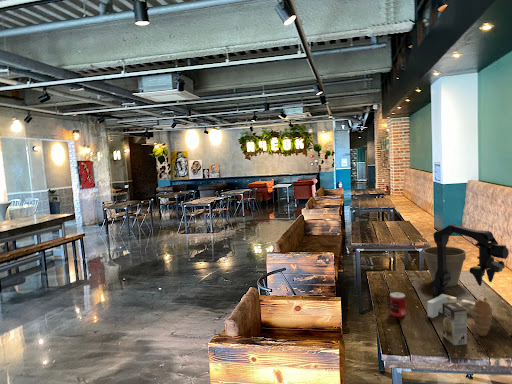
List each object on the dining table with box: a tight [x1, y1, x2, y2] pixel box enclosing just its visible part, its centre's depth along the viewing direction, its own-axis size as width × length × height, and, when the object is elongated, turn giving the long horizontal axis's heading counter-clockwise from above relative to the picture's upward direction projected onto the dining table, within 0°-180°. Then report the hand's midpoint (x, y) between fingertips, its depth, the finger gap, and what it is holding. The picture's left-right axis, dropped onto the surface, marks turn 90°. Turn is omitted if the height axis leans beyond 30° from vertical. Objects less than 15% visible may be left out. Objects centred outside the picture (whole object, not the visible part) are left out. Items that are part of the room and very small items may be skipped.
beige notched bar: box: [440, 294, 476, 317], centre depth 208 cm, size 20×6×6 cm, turn 35°
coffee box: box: [442, 302, 468, 346], centre depth 176 cm, size 9×6×16 cm
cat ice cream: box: [472, 296, 493, 337], centre depth 178 cm, size 9×8×18 cm
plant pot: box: [422, 246, 467, 288], centre depth 250 cm, size 25×25×22 cm
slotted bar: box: [426, 295, 448, 319], centre depth 206 cm, size 14×3×8 cm, turn 125°
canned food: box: [389, 291, 407, 318], centre depth 207 cm, size 8×8×11 cm
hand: (485, 283), depth 206 cm, fingers open, 9 cm apart
